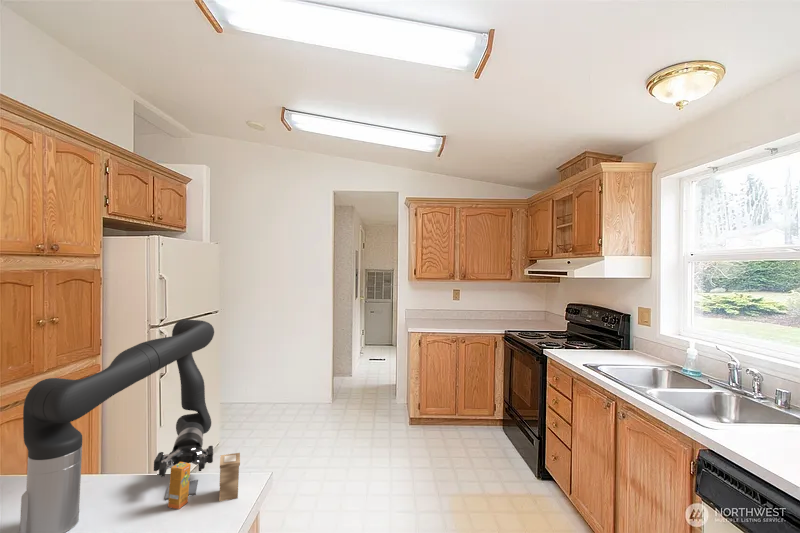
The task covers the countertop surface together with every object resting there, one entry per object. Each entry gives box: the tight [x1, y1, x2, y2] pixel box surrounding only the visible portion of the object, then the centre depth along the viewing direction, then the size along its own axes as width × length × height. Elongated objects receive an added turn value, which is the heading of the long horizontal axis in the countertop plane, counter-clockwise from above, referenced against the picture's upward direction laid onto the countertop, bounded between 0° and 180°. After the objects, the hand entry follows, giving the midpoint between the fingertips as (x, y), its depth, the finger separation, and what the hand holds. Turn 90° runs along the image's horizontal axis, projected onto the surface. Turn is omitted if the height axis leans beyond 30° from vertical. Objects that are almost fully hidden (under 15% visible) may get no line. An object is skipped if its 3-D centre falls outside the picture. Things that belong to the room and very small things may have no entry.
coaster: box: [164, 479, 199, 501], centre depth 104 cm, size 7×7×1 cm
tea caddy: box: [218, 452, 241, 502], centre depth 103 cm, size 5×6×9 cm
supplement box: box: [167, 462, 192, 510], centre depth 98 cm, size 3×3×10 cm
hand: (181, 470), depth 102 cm, fingers open, 8 cm apart
